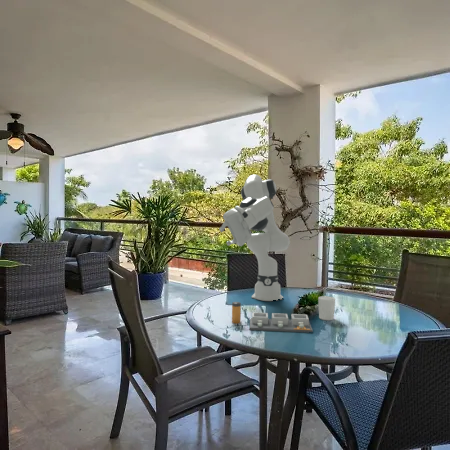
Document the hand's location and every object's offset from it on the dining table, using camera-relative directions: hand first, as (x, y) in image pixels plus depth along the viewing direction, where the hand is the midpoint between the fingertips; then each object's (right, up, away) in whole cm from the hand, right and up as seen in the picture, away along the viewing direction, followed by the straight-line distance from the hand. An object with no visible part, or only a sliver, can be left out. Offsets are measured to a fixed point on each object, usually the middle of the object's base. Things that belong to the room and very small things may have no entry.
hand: (223, 237), depth 171 cm
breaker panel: (+25, -40, -10) cm, 48 cm away
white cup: (+50, -40, +3) cm, 64 cm away
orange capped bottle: (+6, -39, -4) cm, 40 cm away
